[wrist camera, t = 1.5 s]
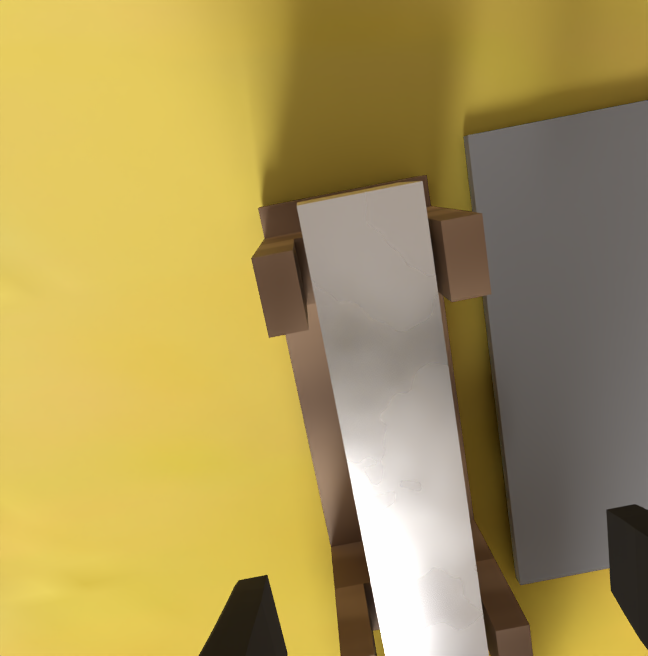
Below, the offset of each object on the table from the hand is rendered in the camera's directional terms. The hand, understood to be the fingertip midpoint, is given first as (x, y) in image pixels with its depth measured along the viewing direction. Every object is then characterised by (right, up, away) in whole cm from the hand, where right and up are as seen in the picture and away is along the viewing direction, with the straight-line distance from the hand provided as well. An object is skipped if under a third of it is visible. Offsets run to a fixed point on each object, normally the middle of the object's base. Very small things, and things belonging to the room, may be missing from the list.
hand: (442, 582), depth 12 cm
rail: (0, +2, +6) cm, 7 cm away
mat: (+8, +4, +10) cm, 13 cm away
